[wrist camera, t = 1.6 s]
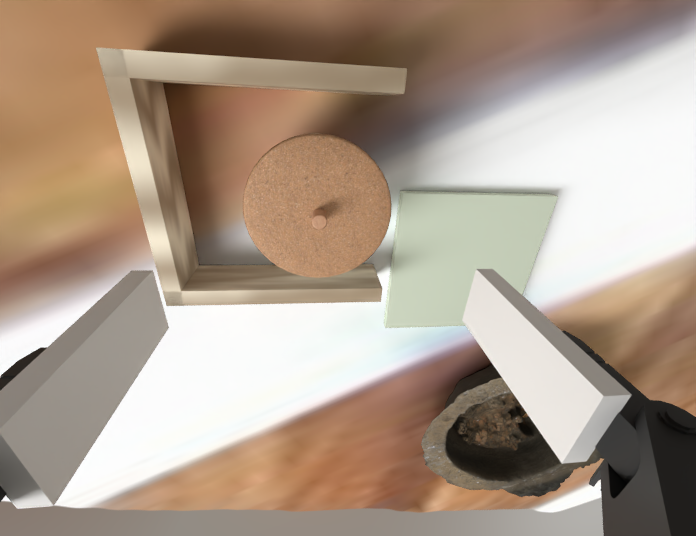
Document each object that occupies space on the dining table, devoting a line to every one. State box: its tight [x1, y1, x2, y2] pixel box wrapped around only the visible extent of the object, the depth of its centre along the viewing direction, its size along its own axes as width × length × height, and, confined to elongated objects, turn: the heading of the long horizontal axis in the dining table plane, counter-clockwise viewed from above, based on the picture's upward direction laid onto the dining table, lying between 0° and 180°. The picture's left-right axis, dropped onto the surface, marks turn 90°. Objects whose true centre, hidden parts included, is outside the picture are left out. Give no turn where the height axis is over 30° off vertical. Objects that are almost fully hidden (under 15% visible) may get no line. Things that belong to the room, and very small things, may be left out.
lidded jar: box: [243, 133, 391, 278], centre depth 25 cm, size 11×11×9 cm
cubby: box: [96, 48, 407, 306], centre depth 26 cm, size 19×20×5 cm
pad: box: [384, 191, 558, 328], centre depth 34 cm, size 16×16×1 cm
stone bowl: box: [421, 365, 605, 497], centre depth 43 cm, size 25×25×9 cm
